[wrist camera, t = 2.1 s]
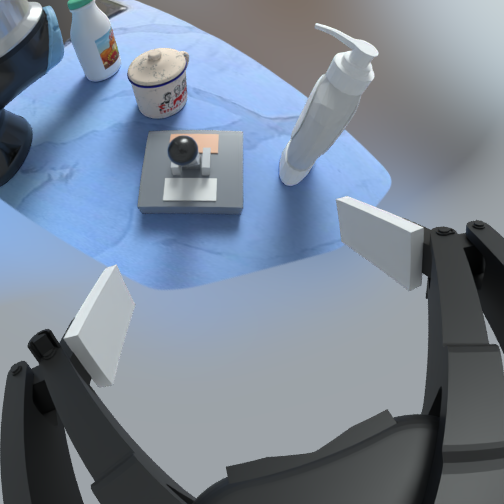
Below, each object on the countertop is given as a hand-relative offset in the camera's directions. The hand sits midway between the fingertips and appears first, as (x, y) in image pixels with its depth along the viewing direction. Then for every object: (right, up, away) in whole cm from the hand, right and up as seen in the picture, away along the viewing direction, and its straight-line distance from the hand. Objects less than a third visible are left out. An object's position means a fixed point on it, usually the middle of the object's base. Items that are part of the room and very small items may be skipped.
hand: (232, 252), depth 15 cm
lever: (-7, +12, +20) cm, 24 cm away
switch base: (-8, +11, +24) cm, 27 cm away
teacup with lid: (-14, +27, +26) cm, 40 cm away
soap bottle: (+7, +15, +27) cm, 31 cm away
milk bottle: (-29, +36, +26) cm, 53 cm away
